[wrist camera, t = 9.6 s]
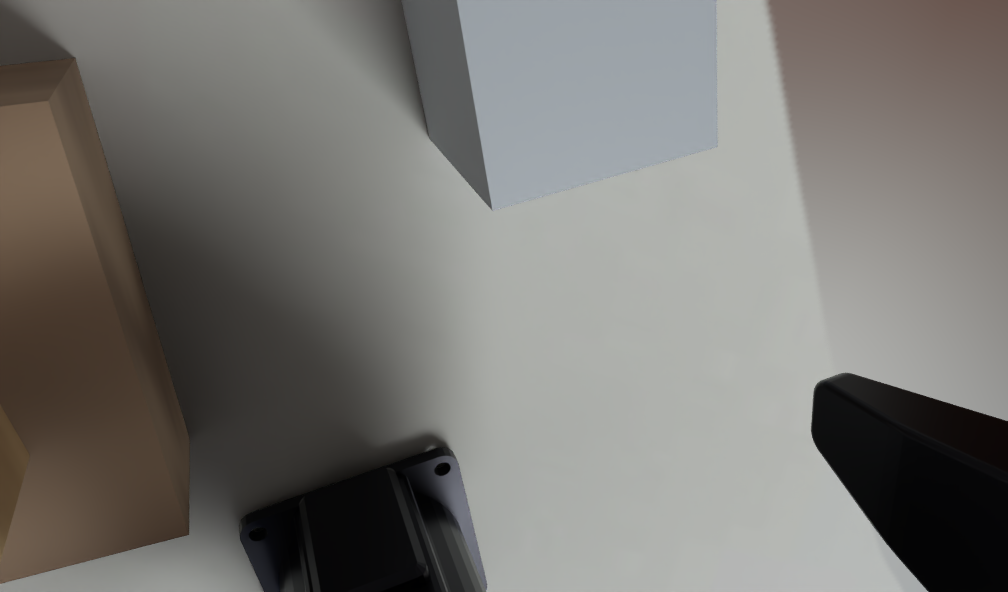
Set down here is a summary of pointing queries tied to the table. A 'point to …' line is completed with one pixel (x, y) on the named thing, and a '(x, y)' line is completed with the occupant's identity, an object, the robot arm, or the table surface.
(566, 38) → the grey cube
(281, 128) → the table surface
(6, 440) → the oak cube
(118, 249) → the walnut block
